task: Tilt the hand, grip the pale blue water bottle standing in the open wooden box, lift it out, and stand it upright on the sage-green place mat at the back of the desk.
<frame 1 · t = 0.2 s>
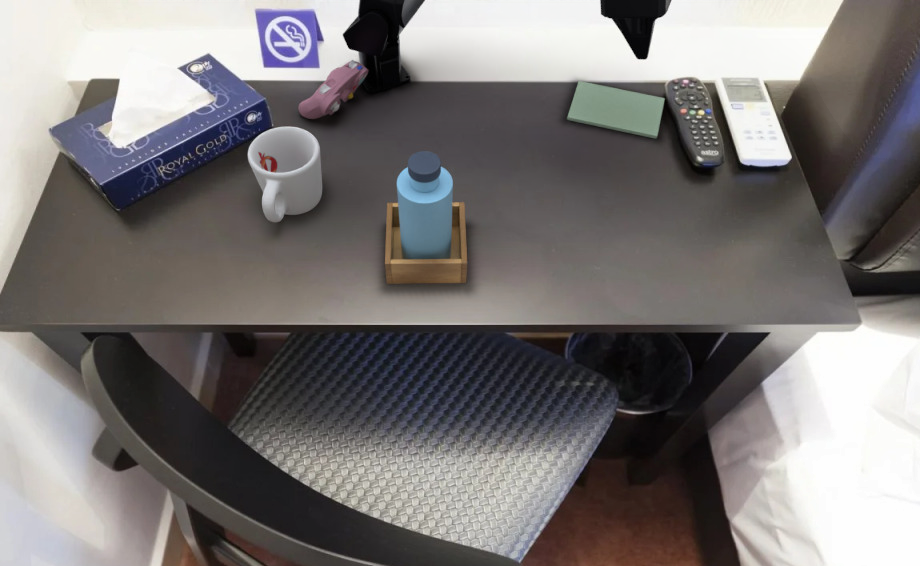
hand: (651, 35, 74), 15 cm above the table, tool pointing down, fingers open, 9 cm apart
bottle: (426, 252, 75), point 1 cm above the table, touching open wooden box
pink toy car: (337, 106, 90), on the table, touching arm
cup: (292, 209, 80), on the table
mat: (615, 110, 90), on the table
open wooden box: (426, 256, 76), on the table
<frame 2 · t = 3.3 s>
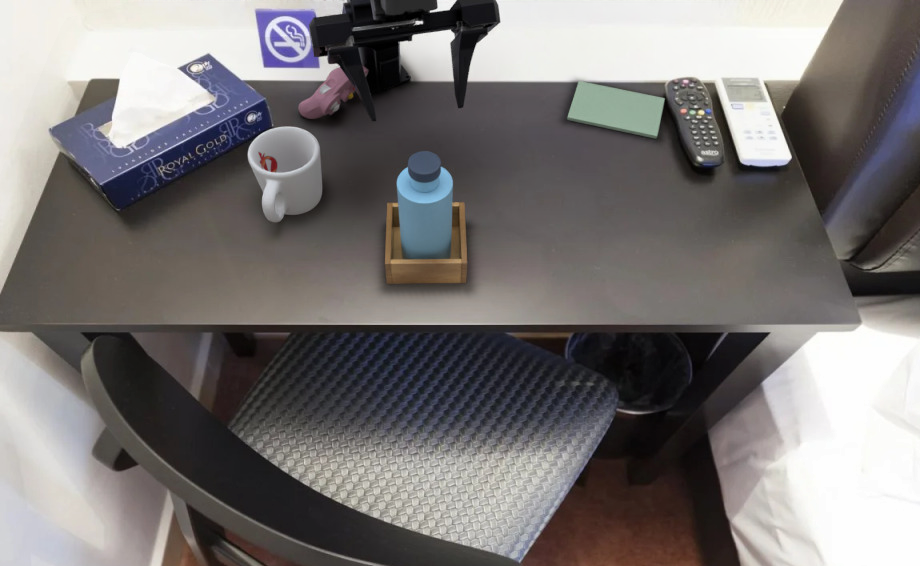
hand: (417, 114, 69), 14 cm above the table, tool tilted 45°, fingers open, 9 cm apart
nothing on the table moved.
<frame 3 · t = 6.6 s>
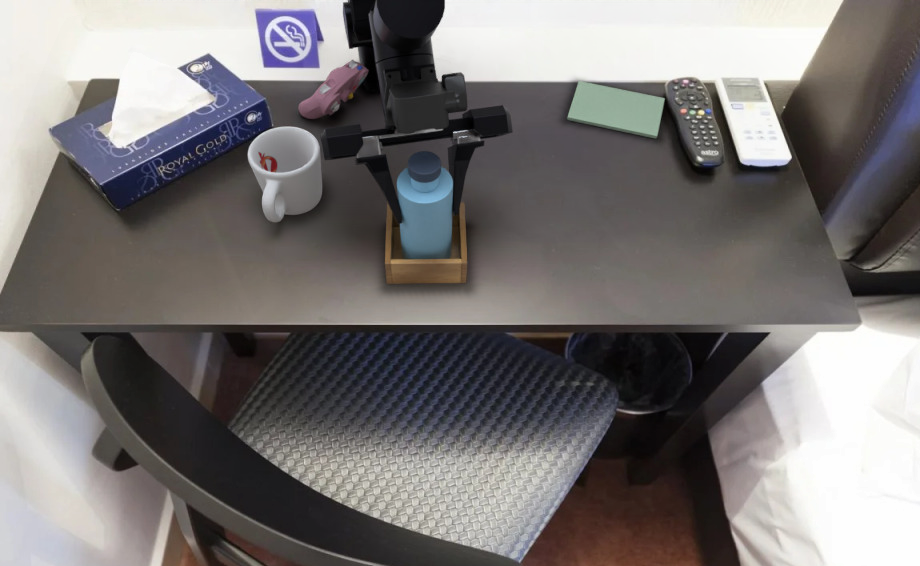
hand: (427, 219, 69), 8 cm above the table, tool tilted 45°, fingers closed on bottle, 5 cm apart
bottle: (426, 252, 75), point 1 cm above the table, touching open wooden box, gripper
pink toy car: (337, 106, 90), on the table
everything else where it was.
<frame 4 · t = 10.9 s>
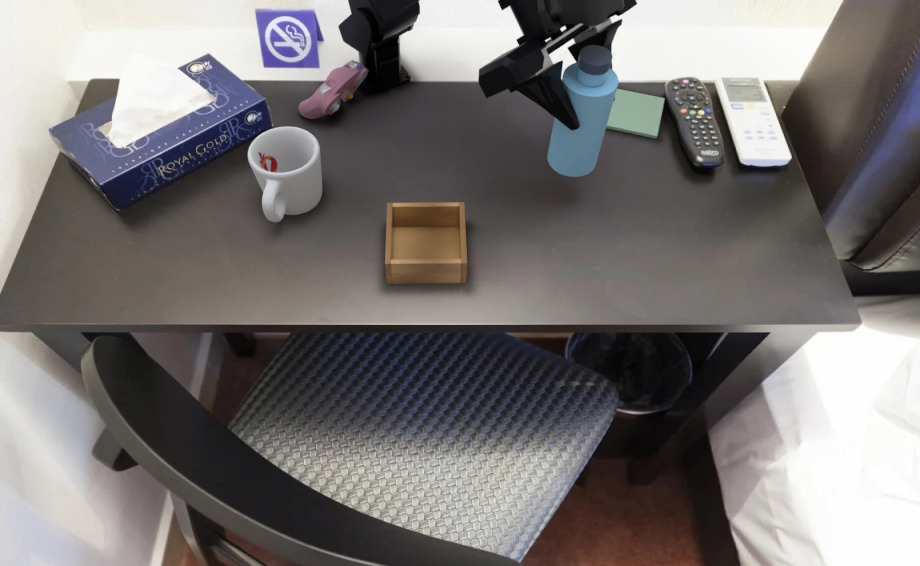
hand: (593, 115, 70), 13 cm above the table, tool tilted 45°, fingers closed on bottle, 5 cm apart
bottle: (571, 159, 76), point 6 cm above the table, touching gripper
everything else where it was.
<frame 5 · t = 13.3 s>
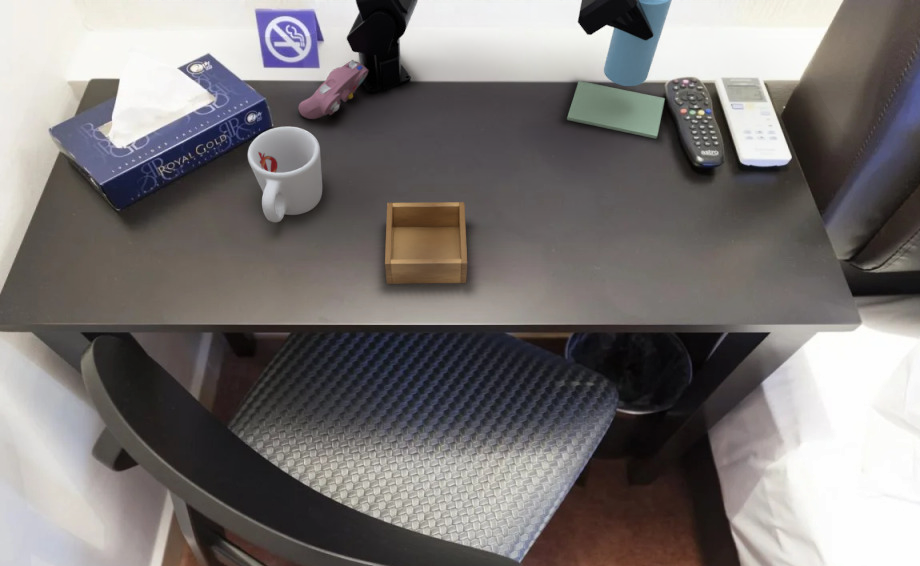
hand: (651, 23, 79), 13 cm above the table, tool tilted 45°, fingers closed on bottle, 5 cm apart
bottle: (625, 72, 85), point 6 cm above the table, touching gripper
pink toy car: (337, 106, 90), on the table, touching arm
everything else where it was.
when the fingers open (8 cm above the table, at t = 15.3 s): bottle stays where it is, resting on mat.
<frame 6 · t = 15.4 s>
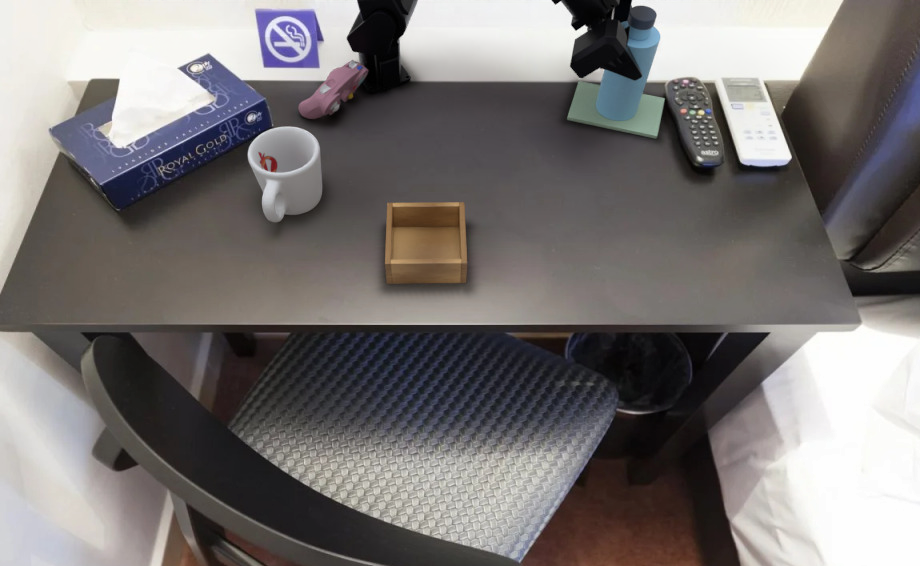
hand: (640, 63, 84), 8 cm above the table, tool tilted 45°, fingers open, 6 cm apart
bottle: (616, 107, 90), point 1 cm above the table, touching mat
pink toy car: (337, 106, 90), on the table
everything else where it was.
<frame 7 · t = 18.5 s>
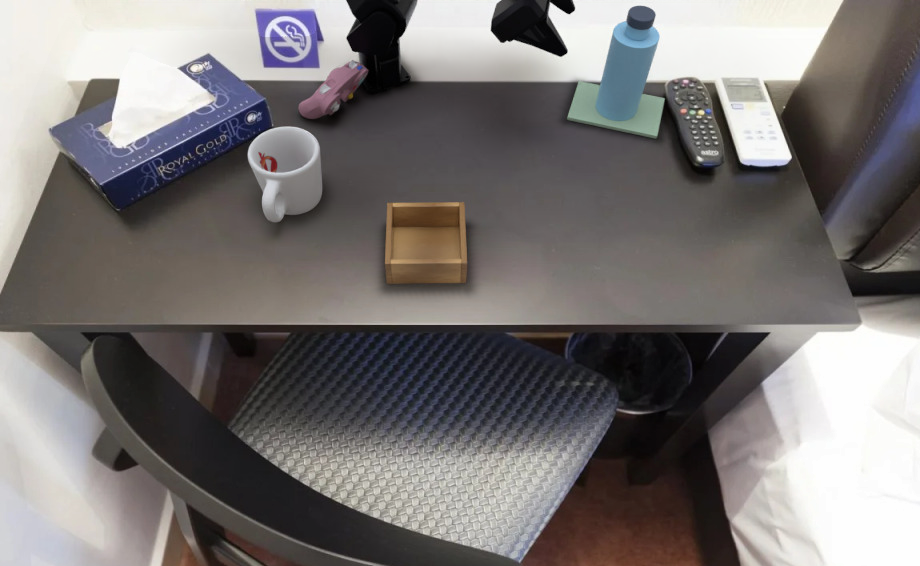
hand: (568, 32, 82), 11 cm above the table, tool tilted 45°, fingers open, 9 cm apart
nothing on the table moved.
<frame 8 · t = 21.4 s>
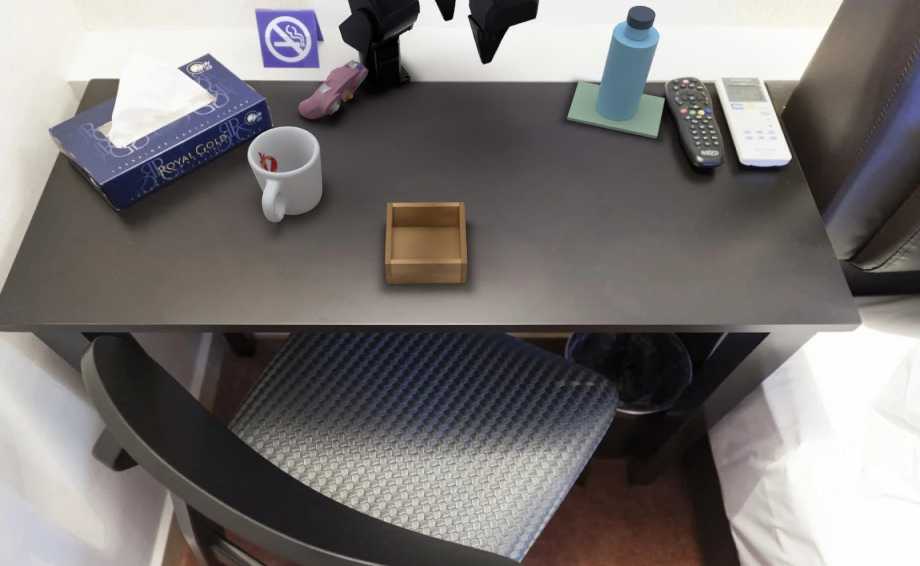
hand: (466, 40, 77), 13 cm above the table, tool pointing down, fingers open, 9 cm apart
nothing on the table moved.
at the end: bottle inside the target area on the mat (0.1 cm from its centre), point 0.5 cm above the mat's base; bottle tilted 0°; bottle touching mat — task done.
